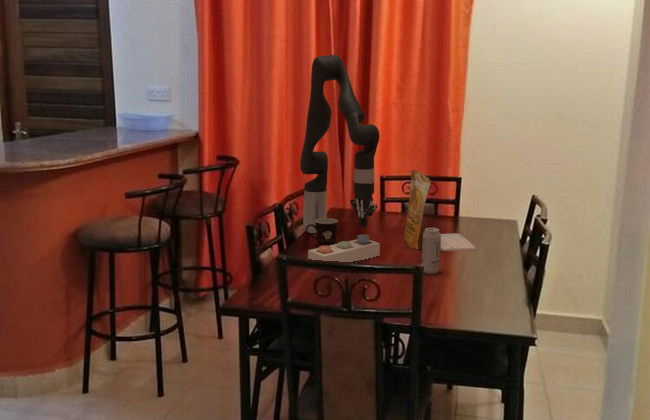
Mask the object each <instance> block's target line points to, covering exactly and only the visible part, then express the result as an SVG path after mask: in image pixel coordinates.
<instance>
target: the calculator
mask: <svg viewBox="0 0 650 420" xmlns="http://www.w3.org/2000/svg"><path fill="white" fill-rule="evenodd" d="M440 234H441V245H440V251H442V252H456V251H457V252H458V251H459V252H460V251H476V246H475V245H474V244H472V242H470V241H469V240H467V239H466V238H465V237H464V236H463V235H462V234H460V233H440Z"/></svg>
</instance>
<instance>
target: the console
mask: <svg viewBox="0 0 650 420" xmlns="http://www.w3.org/2000/svg"><path fill="white" fill-rule="evenodd" d="M348 242H351V248H349V249H345V250H343V249H340V248H338V243H335V244H334V245H330V246H331V253H328V254H321V253H319V247H317V248H313V249H309V250H307V260H308V259H312V260H323V261H339V262H353V261H359V260H363V261H365V260H364V259H367V260H369V259H368V258H371V259H374V258H373V257H375V258H377V257H376V256H379V257H380V249H381V247H380V246H381V245H380V243H379V242H377V241H374V240H371V239H369V244H366V245H360V244H357V239H353V240H348ZM359 262H360V261H359Z"/></svg>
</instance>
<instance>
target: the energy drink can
mask: <svg viewBox="0 0 650 420" xmlns="http://www.w3.org/2000/svg"><path fill="white" fill-rule="evenodd" d="M441 234H442V233H441V232H440V229H439V228H437V227H426V228H424V230H423V235H422V248H421V249H422V250H421V266H422V265H423V266H424V272H423V273H424V274H427V275H436V274H438V273H439V271H440V263H441V250H440V245H441Z"/></svg>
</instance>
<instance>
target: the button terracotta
mask: <svg viewBox="0 0 650 420" xmlns="http://www.w3.org/2000/svg"><path fill="white" fill-rule="evenodd" d="M318 248H319V253H321V254H328V253H331V246H326V245H323V246H319V247H318Z"/></svg>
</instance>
